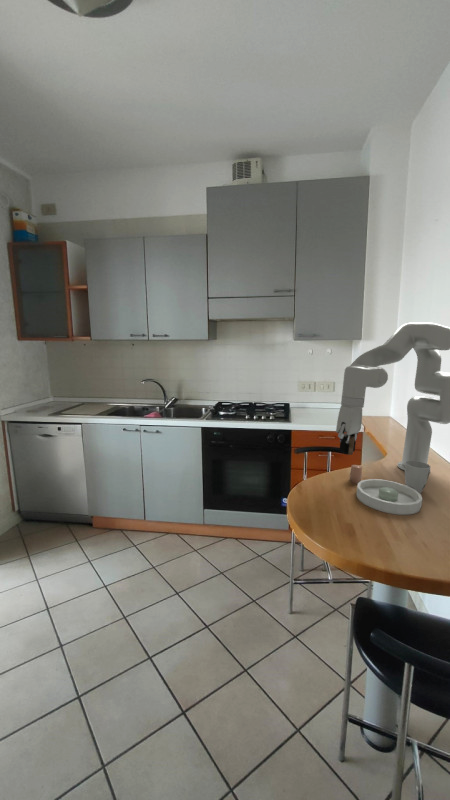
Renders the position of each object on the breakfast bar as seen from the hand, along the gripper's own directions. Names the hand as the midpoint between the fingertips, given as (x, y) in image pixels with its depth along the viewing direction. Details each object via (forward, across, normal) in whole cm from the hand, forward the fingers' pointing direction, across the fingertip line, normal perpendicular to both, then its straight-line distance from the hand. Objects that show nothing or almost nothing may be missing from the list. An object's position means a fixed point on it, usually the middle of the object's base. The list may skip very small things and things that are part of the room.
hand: (347, 451), depth 128 cm
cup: (+14, -20, +18) cm, 30 cm away
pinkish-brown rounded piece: (+14, -10, 0) cm, 17 cm away
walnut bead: (+1, 0, 0) cm, 1 cm away
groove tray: (+14, -3, +15) cm, 21 cm away
